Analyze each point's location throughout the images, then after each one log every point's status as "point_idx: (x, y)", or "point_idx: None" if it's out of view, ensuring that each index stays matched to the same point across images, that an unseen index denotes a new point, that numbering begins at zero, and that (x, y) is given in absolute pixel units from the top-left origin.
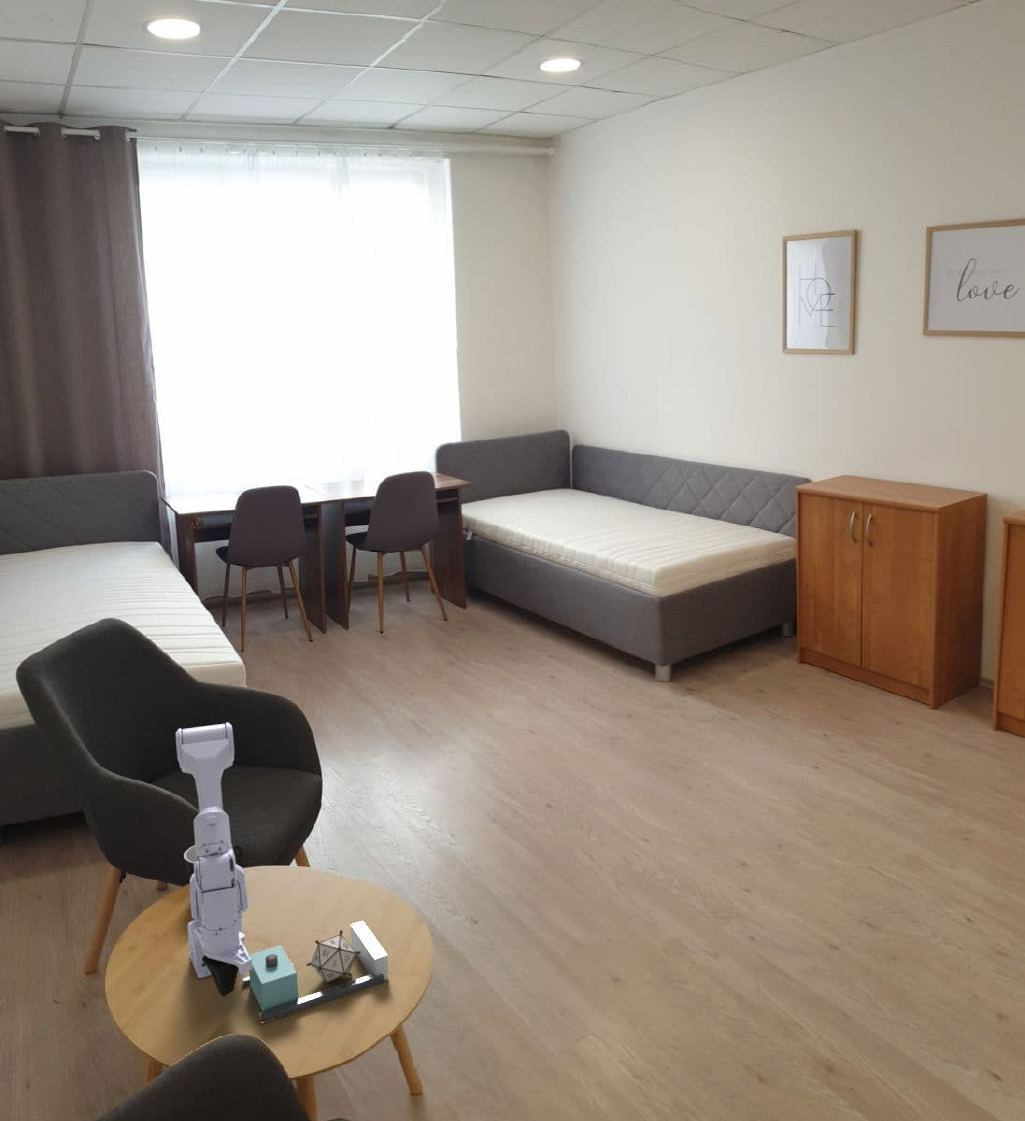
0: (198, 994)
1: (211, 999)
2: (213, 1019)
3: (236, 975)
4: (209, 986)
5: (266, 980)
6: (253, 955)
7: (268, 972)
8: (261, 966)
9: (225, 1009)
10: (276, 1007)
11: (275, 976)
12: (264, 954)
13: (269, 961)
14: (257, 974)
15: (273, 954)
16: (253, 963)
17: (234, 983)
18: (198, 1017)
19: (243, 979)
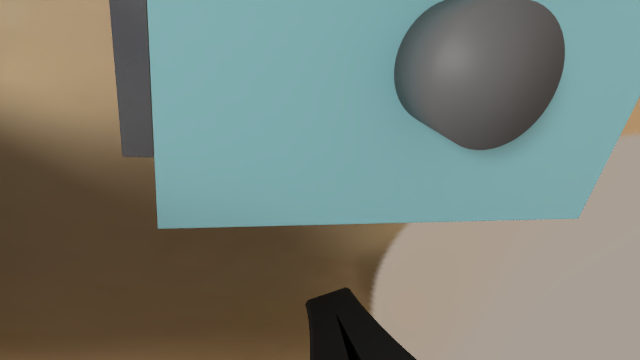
0: (113, 325)
1: (182, 286)
2: (314, 293)
3: (408, 353)
4: (67, 283)
5: (578, 181)
6: (194, 180)
7: (520, 138)
8: (412, 163)
9: (285, 250)
10: None
11: (602, 108)
12: (248, 70)
13: (531, 124)
14: (474, 218)
15: (464, 26)
16: (326, 212)
17: (369, 315)
18: (269, 333)
19: (135, 151)
